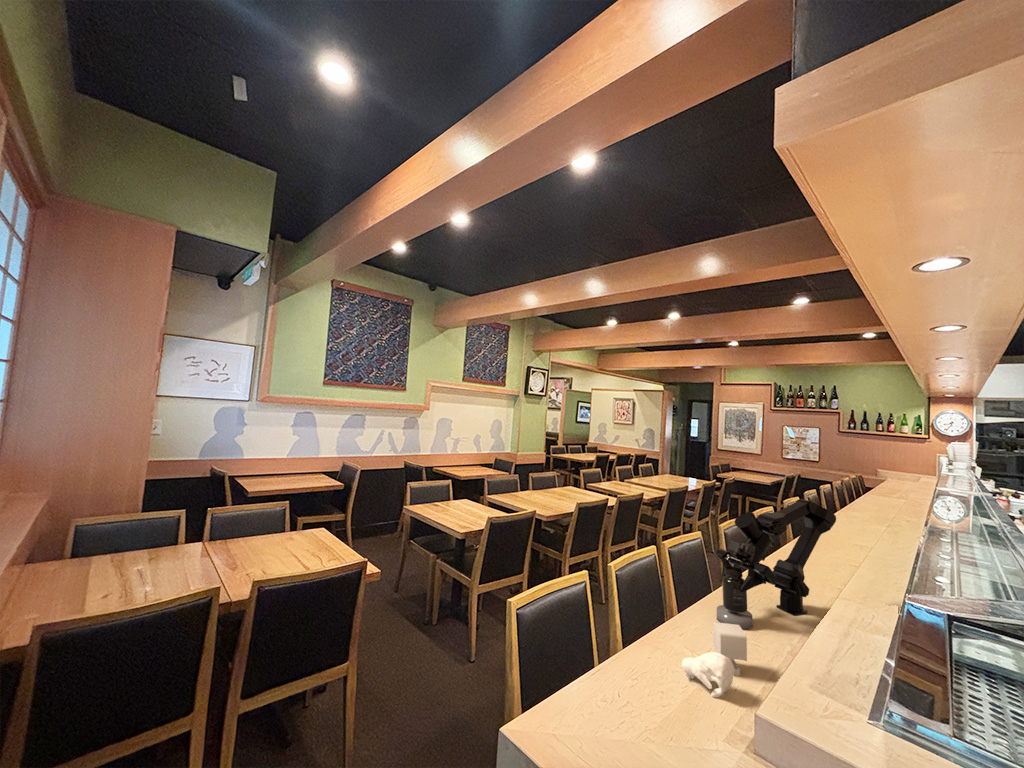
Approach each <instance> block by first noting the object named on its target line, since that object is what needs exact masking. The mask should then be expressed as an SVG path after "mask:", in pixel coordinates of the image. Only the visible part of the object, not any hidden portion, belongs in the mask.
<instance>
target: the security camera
mask: <svg viewBox="0 0 1024 768" xmlns="http://www.w3.org/2000/svg"><path fill="white" fill-rule="evenodd" d="M747 641H748V638H747V635H746V633H745V630H742V628H741V627H740V626H739V625H736V624H727V623H720V622H719V621H717V622H716V621H714V622H713V646H714V649H715V652H717V653H720V654H722V655H724V656H726V657H727V658H729V659H730V660H731V662H732V664H733V667H734V670H735V671H734V674H733V676H737V677H738V676H741V669H740V668H739V667H738V664H737V663H736V661H735V660H740V661H745V662H747V661H748V658H747V657H748V644H747Z"/></svg>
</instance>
